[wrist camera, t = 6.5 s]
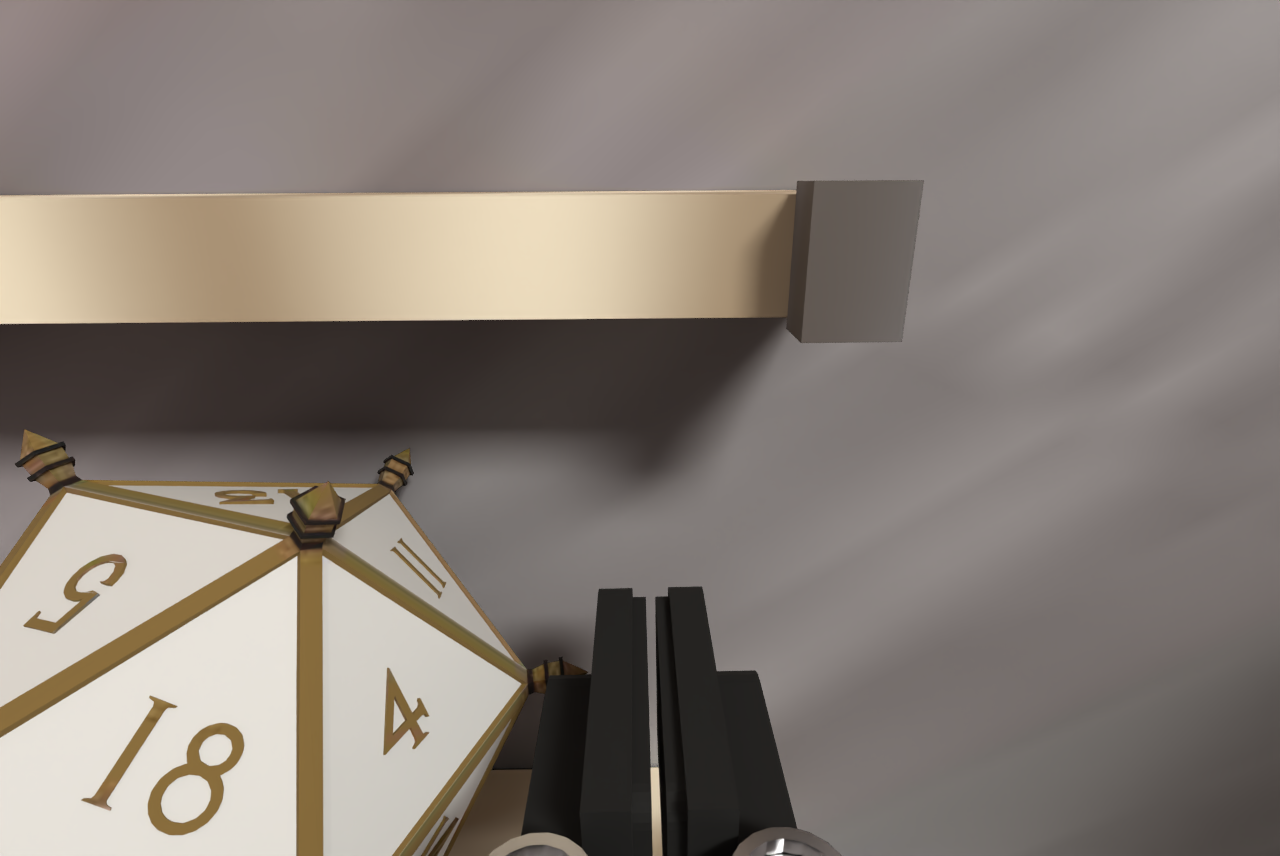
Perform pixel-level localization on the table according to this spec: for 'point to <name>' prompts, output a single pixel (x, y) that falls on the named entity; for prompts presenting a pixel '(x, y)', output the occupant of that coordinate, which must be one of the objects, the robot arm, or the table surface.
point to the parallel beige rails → (471, 279)
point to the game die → (241, 672)
